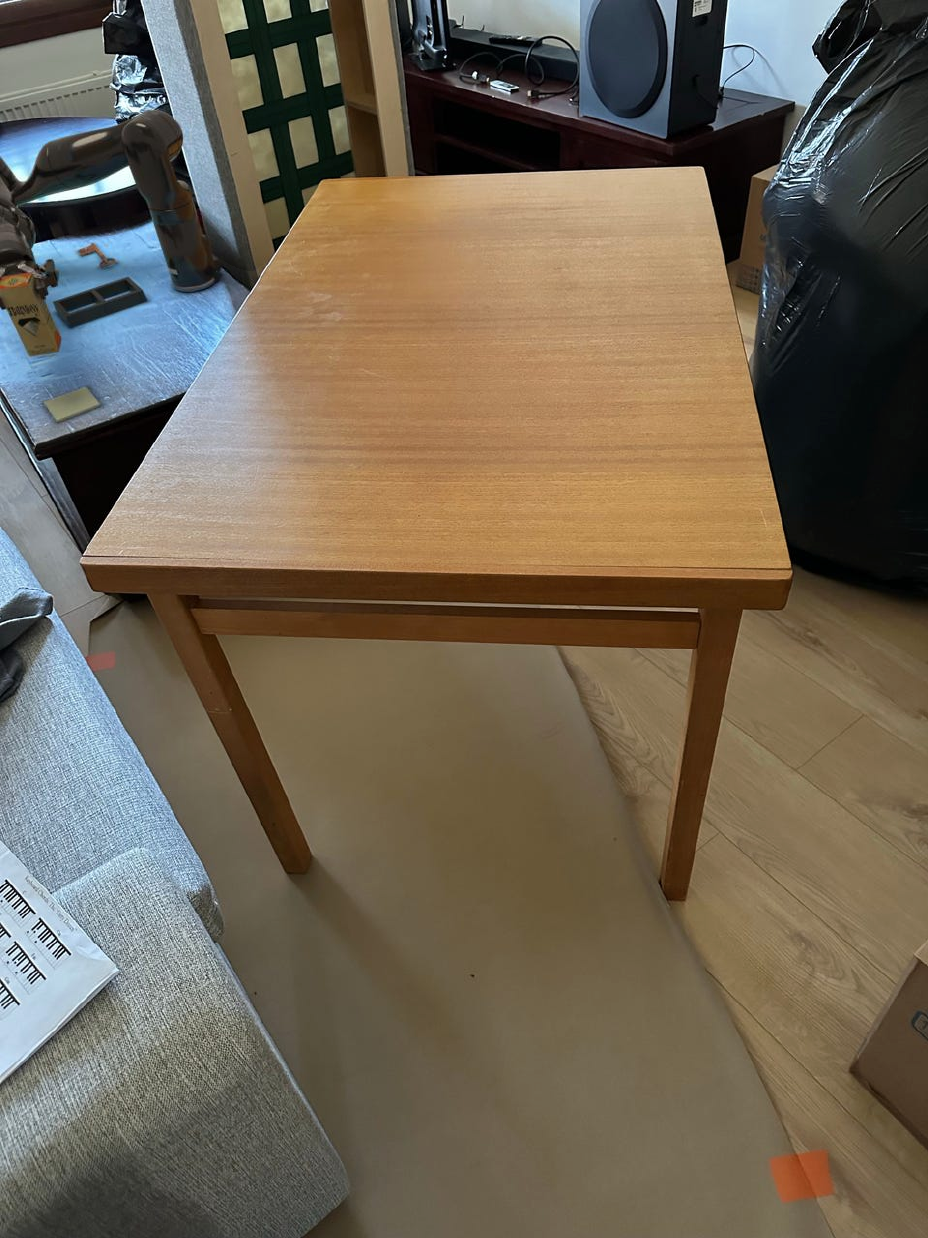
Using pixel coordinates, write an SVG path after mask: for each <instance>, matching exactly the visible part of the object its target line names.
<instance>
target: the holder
mask: <svg viewBox="0 0 928 1238" xmlns="http://www.w3.org/2000/svg"><path fill="white" fill-rule="evenodd" d="M128 291H130V292H128ZM144 291H145V290H144V289H143V288H141V287H140V286H139V285H138V284H137V283H136V282H135V281H134V280H133V279H132V278H131V277H129V276H126V277H122V278H119V279H116V280H113V281H110V282H107V283H105V284H101V285H98V286H95V287H92V288H90V289H87V290H84V291H81V292H77V293H74V294H72V295H69V296H66V297H63V298H60V299H57V300H54V301H52V305H53V307H54V308H55V311H56V313H57V314H58V315H59V316H60V318H61V319H62V320H63V321H64V322H65V324H66V325H67V326H68V327H69V328H71V329H72V328H74V327H77V326H79V325H83V324H85V323H88V322H91V321H94V320H97V319H99V318H102V317H106V316H108V315H112V314H114V313H118V312H119V311H122V310H126V309H129V308H132V307H134V306H137V305H140V304H143V303H145V302H147V297H146V294H145V292H144ZM126 292H127V293H126ZM123 293H124V294H123ZM120 294H122V295H120ZM117 295H118V296H117ZM113 296H116V297H113ZM110 297H113V298H110ZM108 298H110V299H108ZM106 299H107V300H106ZM93 303H95V304H93ZM90 304H91V305H90ZM87 305H89V306H87ZM84 306H87V307H84ZM81 307H83V308H81ZM78 308H81V309H78ZM75 309H77V310H75ZM73 310H75V311H73ZM70 311H72V312H70Z"/></svg>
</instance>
